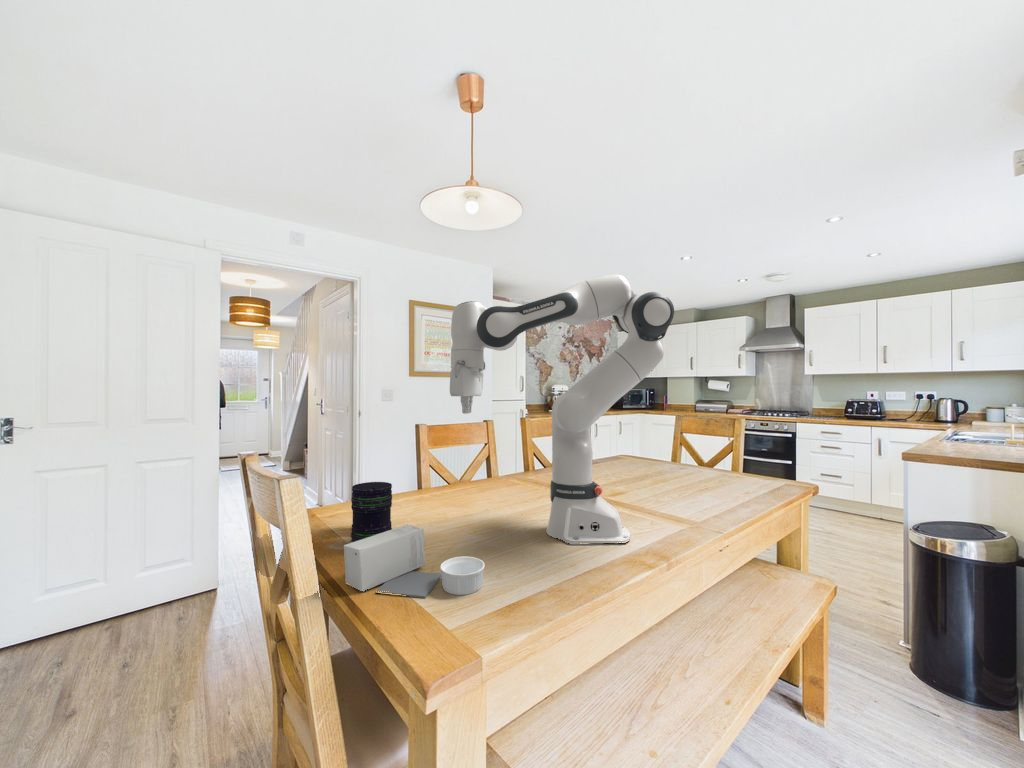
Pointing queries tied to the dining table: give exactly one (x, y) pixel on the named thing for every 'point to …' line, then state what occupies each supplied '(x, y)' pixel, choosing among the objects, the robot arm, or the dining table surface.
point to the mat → (411, 584)
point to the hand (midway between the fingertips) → (466, 413)
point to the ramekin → (462, 575)
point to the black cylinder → (371, 509)
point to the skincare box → (383, 556)
